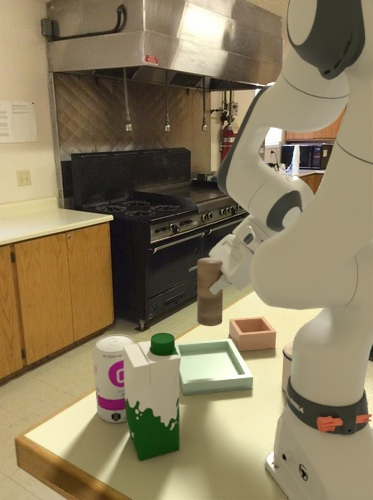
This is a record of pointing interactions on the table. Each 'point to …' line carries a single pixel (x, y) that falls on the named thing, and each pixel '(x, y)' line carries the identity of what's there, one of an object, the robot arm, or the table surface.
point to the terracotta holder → (252, 333)
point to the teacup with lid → (286, 364)
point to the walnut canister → (206, 301)
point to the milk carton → (152, 395)
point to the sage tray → (212, 367)
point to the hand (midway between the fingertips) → (207, 286)
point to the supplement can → (110, 377)
